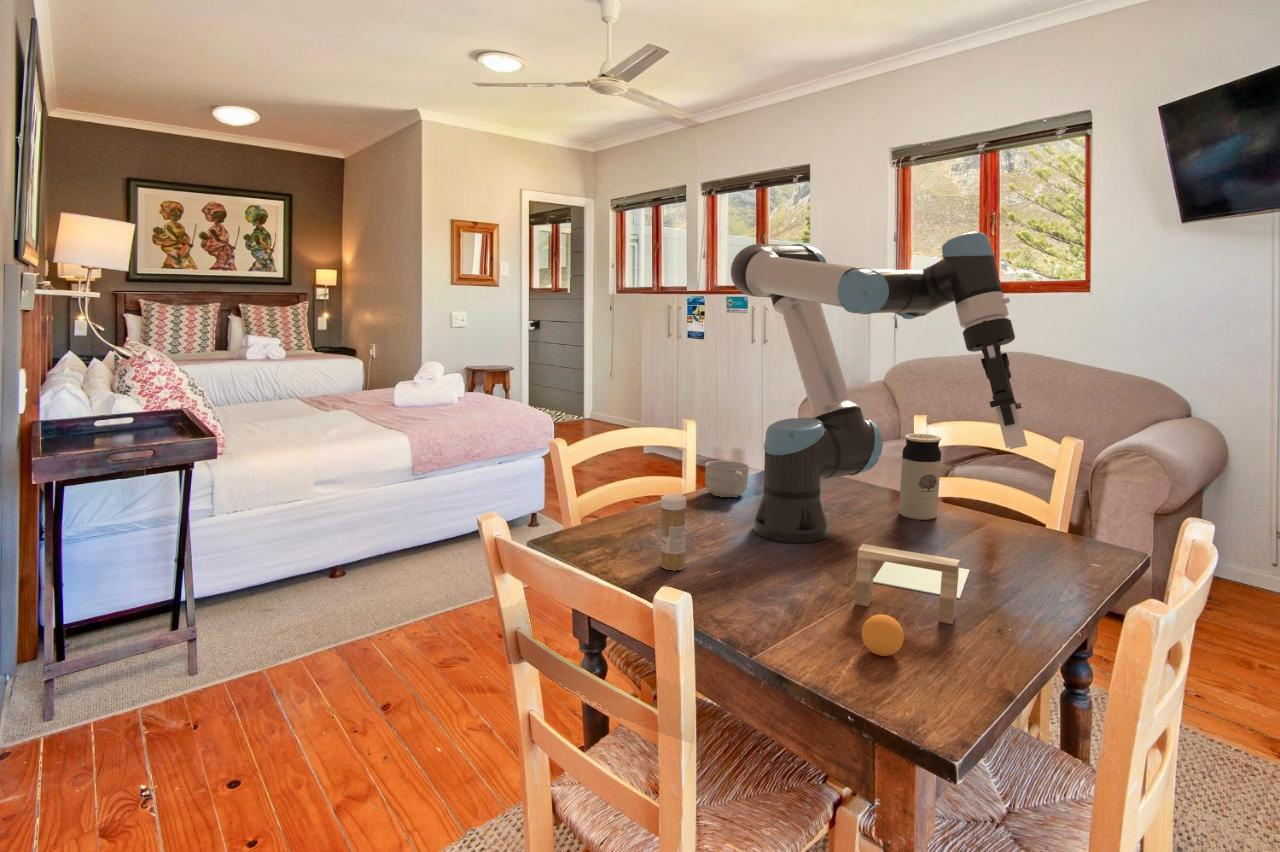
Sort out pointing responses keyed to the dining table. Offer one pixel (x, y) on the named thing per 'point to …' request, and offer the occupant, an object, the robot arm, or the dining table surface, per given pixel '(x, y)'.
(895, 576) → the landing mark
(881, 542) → the dining table surface
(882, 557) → the bridge
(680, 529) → the sprinkles bottle
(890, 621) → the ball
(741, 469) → the teacup
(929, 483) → the travel mug
